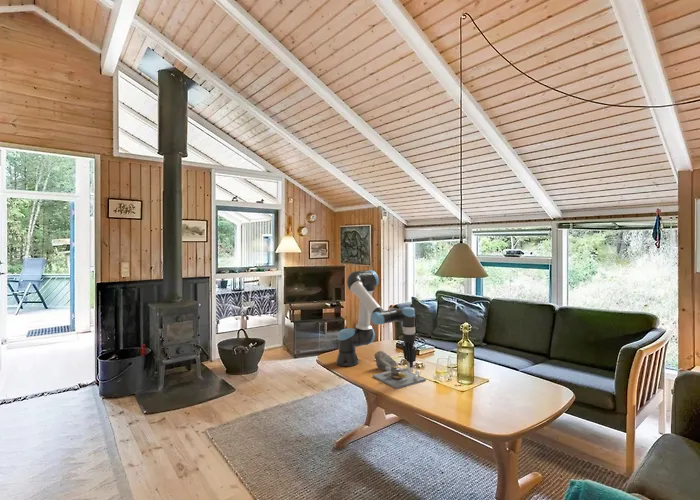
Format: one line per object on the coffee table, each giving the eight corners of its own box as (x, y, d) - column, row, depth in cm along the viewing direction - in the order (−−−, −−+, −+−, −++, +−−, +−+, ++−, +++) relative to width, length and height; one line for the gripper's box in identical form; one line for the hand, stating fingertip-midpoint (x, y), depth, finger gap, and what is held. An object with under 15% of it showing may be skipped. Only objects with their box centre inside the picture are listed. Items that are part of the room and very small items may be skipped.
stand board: (372, 376, 242) (372, 367, 242) (400, 369, 253) (400, 360, 253) (396, 389, 221) (396, 378, 221) (425, 380, 233) (425, 370, 232)
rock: (399, 367, 253) (388, 346, 254) (392, 373, 248) (380, 351, 250) (388, 369, 262) (378, 349, 264) (381, 375, 257) (370, 355, 259)
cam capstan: (374, 375, 241) (373, 365, 240) (398, 369, 250) (398, 359, 250) (392, 384, 224) (392, 373, 224) (418, 377, 234) (417, 367, 234)
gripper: (397, 332, 237) (398, 370, 237) (411, 336, 226) (412, 376, 226) (407, 330, 241) (408, 368, 241) (421, 334, 230) (422, 373, 230)
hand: (410, 372), depth 234 cm, fingers closed
